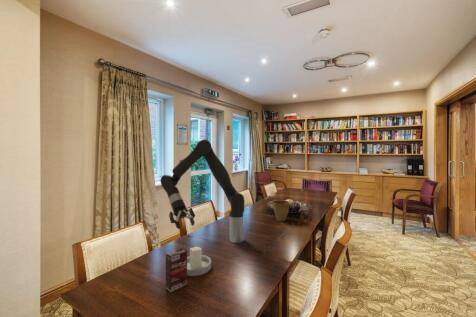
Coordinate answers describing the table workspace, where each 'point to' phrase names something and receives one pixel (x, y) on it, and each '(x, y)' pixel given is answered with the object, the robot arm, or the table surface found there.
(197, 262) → the cream rectangular block
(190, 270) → the round tray
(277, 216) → the plant pot
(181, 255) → the supplement box
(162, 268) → the table surface
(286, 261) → the table surface
